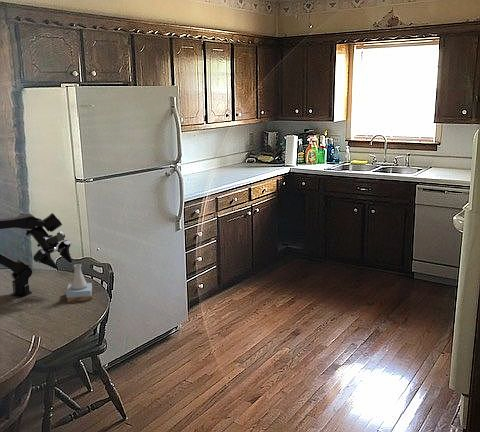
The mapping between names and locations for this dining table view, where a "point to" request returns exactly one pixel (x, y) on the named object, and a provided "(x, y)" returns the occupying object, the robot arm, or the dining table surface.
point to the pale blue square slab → (79, 291)
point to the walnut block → (79, 298)
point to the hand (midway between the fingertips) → (64, 265)
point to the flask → (78, 278)
